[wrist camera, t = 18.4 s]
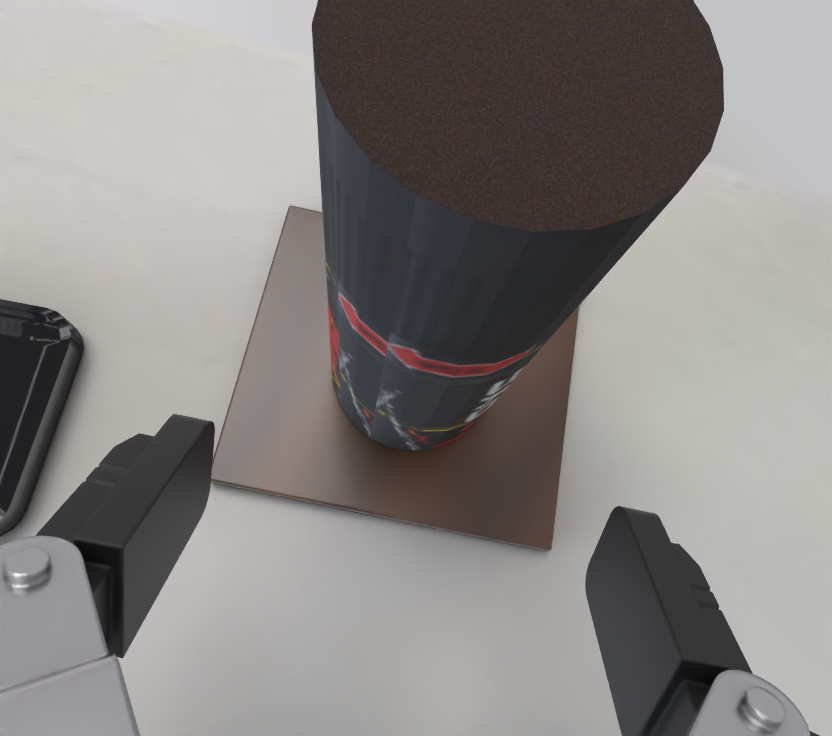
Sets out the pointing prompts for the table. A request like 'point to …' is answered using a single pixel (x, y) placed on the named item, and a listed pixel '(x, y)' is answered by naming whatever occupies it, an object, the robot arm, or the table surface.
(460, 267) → the deodorant
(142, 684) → the table surface
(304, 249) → the walnut board
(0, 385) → the phone
